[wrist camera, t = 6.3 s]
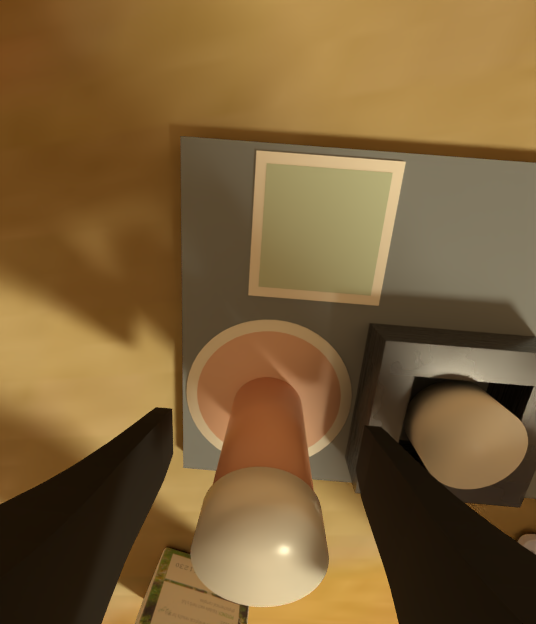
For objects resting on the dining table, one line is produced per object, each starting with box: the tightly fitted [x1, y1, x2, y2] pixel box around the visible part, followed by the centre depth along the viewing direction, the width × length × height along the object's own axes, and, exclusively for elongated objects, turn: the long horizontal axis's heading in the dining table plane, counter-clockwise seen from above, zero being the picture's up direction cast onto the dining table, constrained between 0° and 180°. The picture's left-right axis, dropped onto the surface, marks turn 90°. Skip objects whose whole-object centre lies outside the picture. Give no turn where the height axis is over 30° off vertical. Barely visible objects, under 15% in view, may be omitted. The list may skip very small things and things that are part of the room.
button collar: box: [345, 323, 536, 507], centre depth 13 cm, size 7×7×2 cm
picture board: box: [181, 136, 536, 499], centre depth 13 cm, size 15×20×1 cm
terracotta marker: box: [190, 377, 329, 607], centre depth 11 cm, size 4×4×6 cm
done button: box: [403, 380, 528, 489], centre depth 11 cm, size 4×4×2 cm
